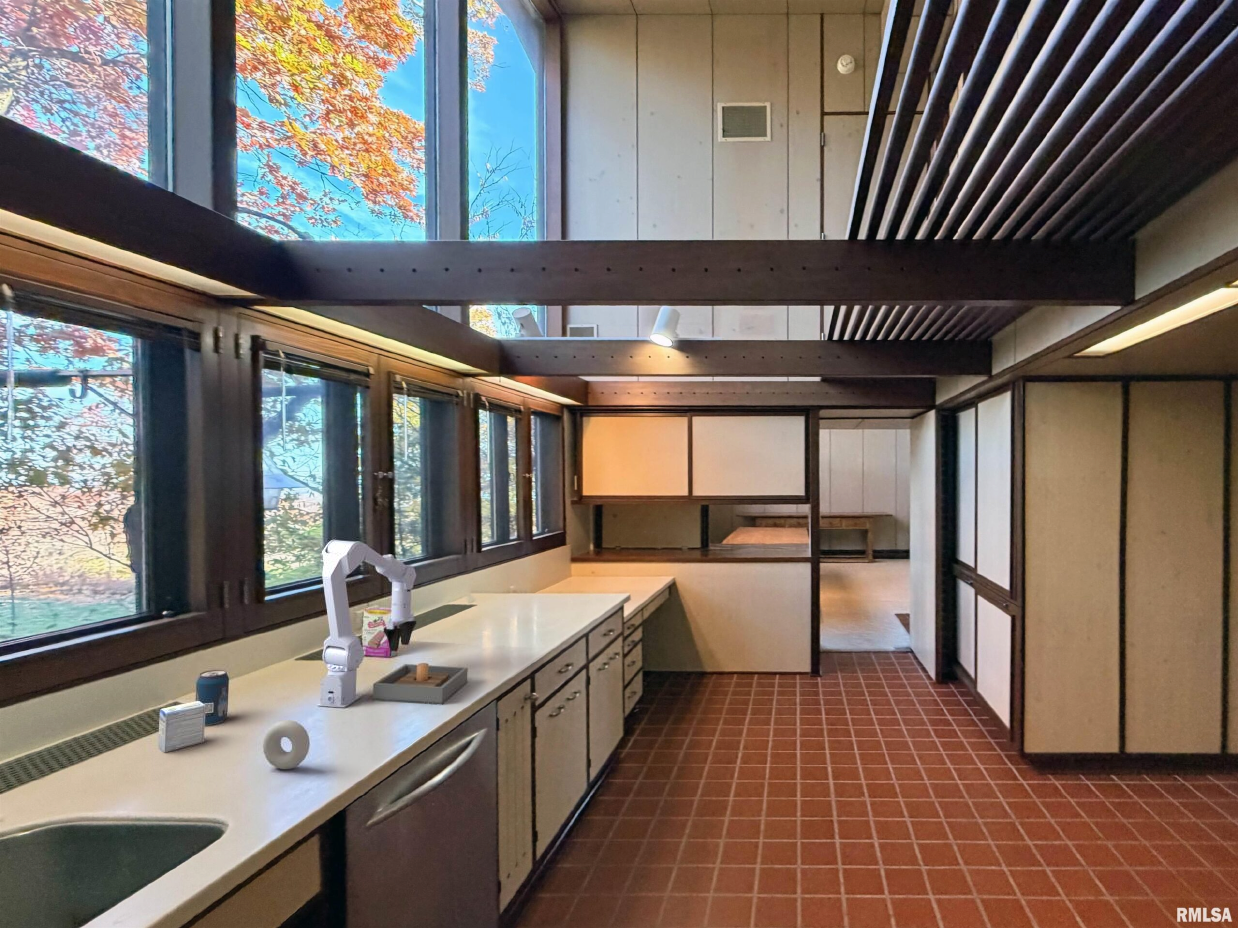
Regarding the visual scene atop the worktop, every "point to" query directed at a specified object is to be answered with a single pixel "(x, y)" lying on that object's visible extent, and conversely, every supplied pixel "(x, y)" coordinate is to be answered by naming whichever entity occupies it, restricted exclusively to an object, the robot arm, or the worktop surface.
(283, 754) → the donut
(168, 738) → the medicine box
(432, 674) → the socket block
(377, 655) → the candy bar box
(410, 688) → the tray
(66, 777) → the worktop surface
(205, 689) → the soda can
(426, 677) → the peg
